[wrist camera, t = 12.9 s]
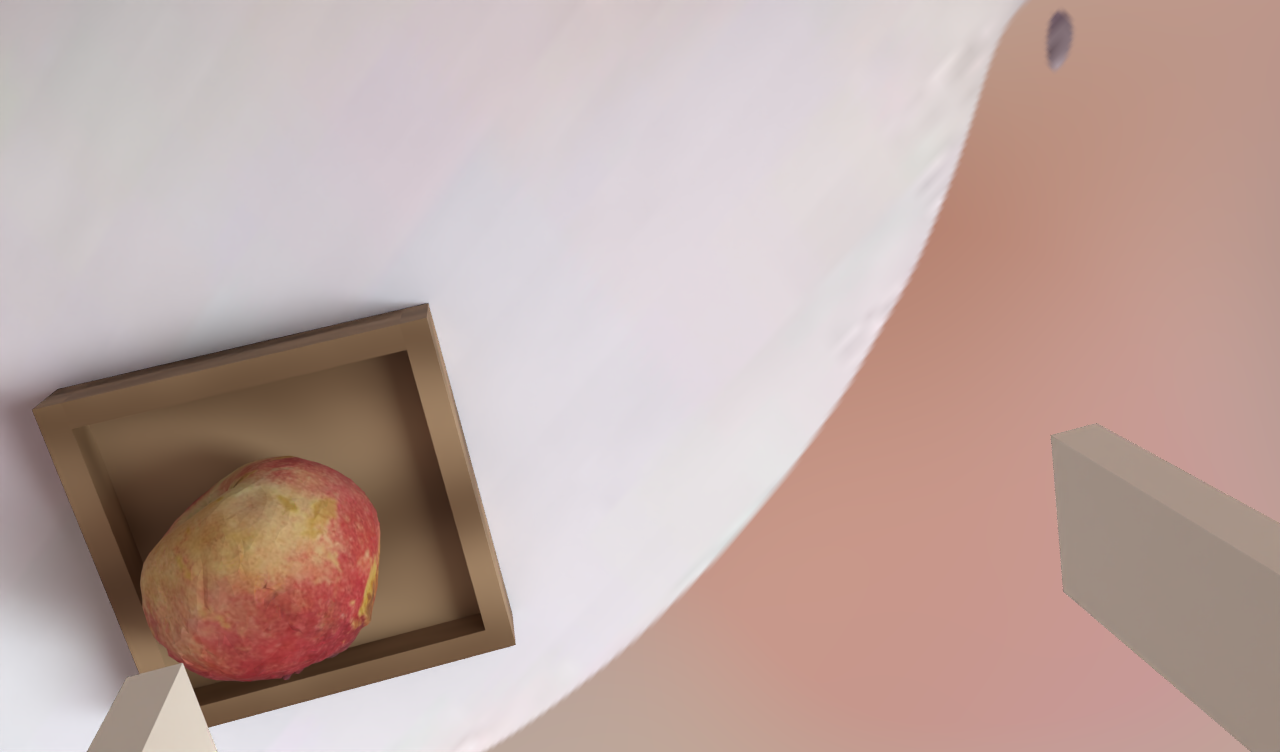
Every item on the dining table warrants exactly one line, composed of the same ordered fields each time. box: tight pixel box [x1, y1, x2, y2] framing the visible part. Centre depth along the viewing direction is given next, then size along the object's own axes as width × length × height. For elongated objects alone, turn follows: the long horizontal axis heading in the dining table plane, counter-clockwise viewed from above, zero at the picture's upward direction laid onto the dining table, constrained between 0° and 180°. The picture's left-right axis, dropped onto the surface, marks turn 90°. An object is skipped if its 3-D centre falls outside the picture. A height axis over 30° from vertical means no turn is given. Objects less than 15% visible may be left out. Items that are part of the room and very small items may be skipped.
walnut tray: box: [32, 303, 516, 728], centre depth 40 cm, size 14×14×2 cm
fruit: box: [140, 456, 380, 682], centre depth 37 cm, size 8×8×8 cm
